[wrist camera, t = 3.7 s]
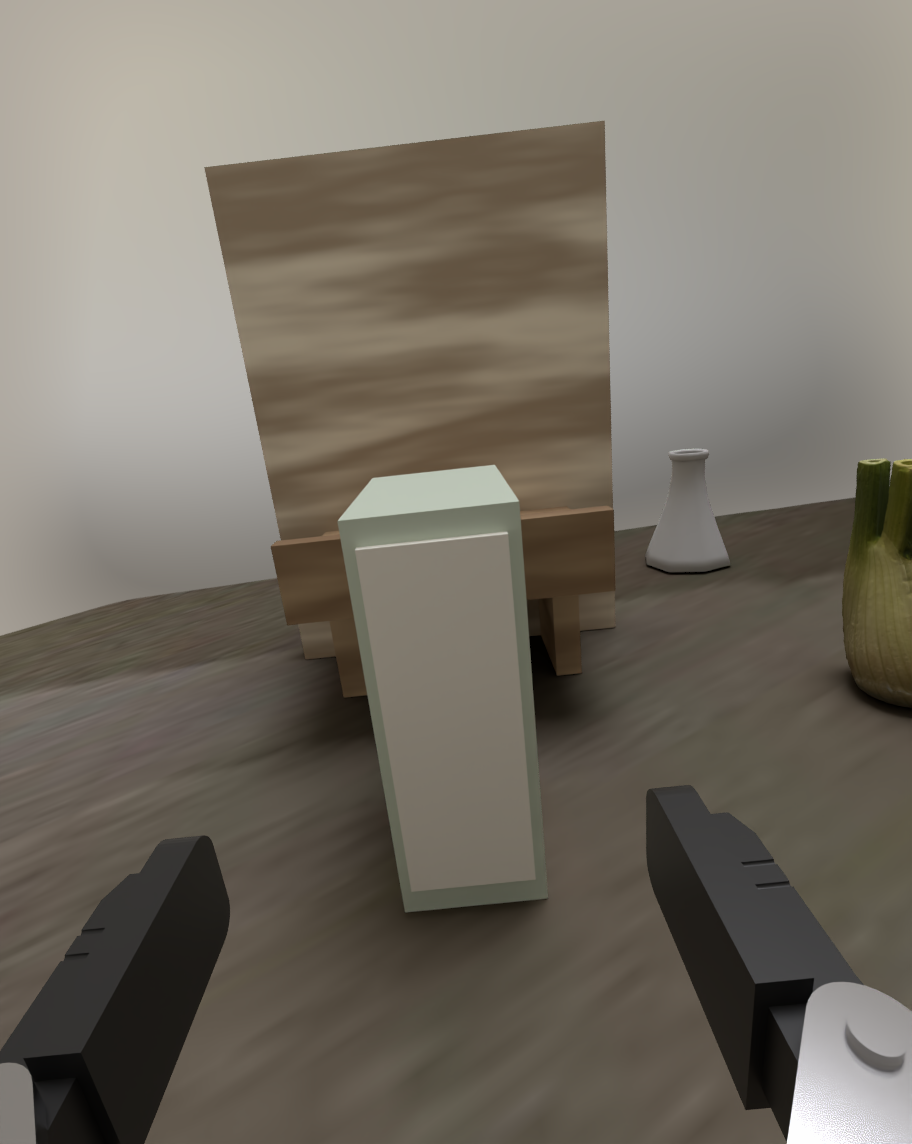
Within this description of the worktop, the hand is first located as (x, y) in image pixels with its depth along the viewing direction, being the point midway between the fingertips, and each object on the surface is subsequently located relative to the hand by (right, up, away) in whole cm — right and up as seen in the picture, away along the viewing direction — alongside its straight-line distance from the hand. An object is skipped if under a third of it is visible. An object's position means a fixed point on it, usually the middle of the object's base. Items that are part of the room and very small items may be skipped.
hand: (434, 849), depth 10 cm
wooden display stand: (+1, -1, +28) cm, 28 cm away
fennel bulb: (+23, -1, +19) cm, 30 cm away
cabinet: (+1, -5, +13) cm, 14 cm away
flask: (+21, +6, +41) cm, 47 cm away
